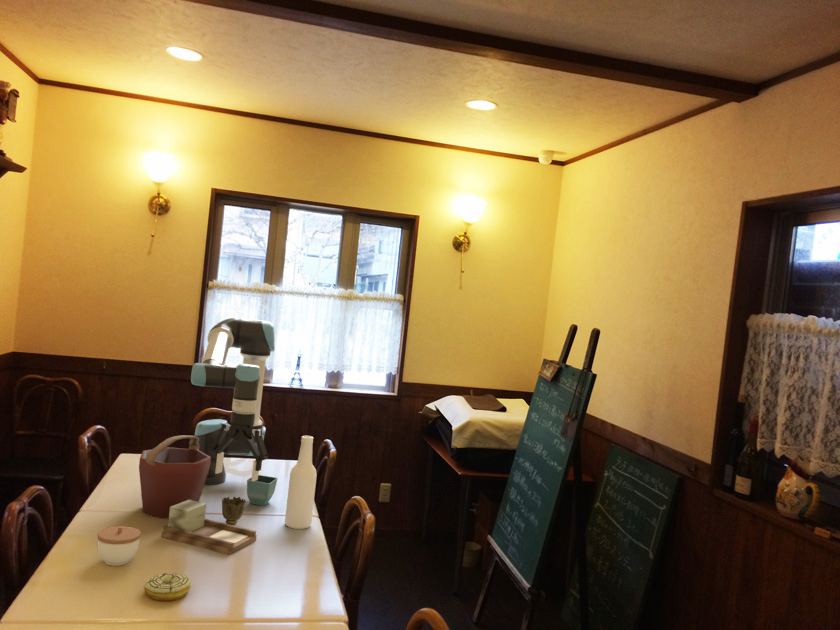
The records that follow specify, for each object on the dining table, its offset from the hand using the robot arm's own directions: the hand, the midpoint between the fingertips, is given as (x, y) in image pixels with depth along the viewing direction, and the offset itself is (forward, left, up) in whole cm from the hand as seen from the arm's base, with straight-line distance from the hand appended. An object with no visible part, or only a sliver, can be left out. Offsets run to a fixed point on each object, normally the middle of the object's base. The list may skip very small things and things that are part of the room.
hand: (236, 476), depth 219 cm
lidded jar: (+42, -8, -16) cm, 45 cm away
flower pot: (-24, -4, -16) cm, 29 cm away
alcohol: (-12, +18, -16) cm, 27 cm away
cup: (0, 0, -16) cm, 16 cm away
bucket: (+1, -23, -16) cm, 28 cm away
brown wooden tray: (+14, +2, -16) cm, 21 cm away
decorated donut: (+50, +15, -16) cm, 54 cm away
